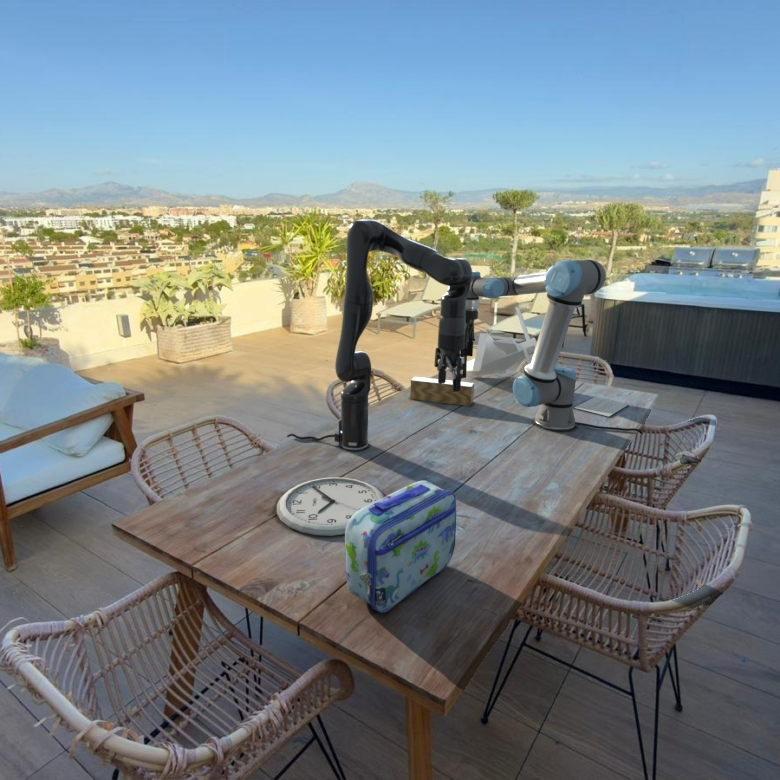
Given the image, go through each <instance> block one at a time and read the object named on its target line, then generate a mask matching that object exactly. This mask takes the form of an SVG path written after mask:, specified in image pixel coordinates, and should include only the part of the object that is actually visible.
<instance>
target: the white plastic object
mask: <svg viewBox="0 0 780 780" xmlns="http://www.w3.org/2000/svg"><path fill="white" fill-rule="evenodd" d="M515 311H516V314H517V317H518V320H519V323H520V326H521V329H522V332H523V336H524V338H525V341H522V342H519V343H518V342H516V340H515V339H514V337H513V336H510V337H505V338H501V339H497V340H494V339H493V338H492V337H491V335H490V334H489V333H487V332H486V333H485V332H483V333H482V332H480V333H479V336H478V341H477V346H476V351H475V355H474V358H473V359H471V360H467V368H466V373H467V374H468V375H469V377H471V378H472V377H481V376H490V375H496V376H500V375H502V374H505V373H506V372H507V370H508V369H509V368H511V367H512V366H513V365H515V364H517V363H518V362H520V361H521V360H522V359H523V358H524V357H525V360H526V363H527V365H528V364H530V363H531V360H532V357H531V356H530V354H534V351H535V347H536V344H537V341H538V340H537V339H536V338H535V337H532V338H531V337H530V334H529V332H528V328H527V325H526V322H525V320H524V315H523V313H522V311H521V310H520V307H519V306H517V307H515Z"/></svg>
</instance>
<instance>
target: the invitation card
mask: <svg viewBox="0 0 780 780" xmlns="http://www.w3.org/2000/svg"><path fill="white" fill-rule="evenodd" d="M628 406H629V404H627V403H623V402H618V401H614V400H609V399H605V398H601V397H596V396H593V397H592V398H590V399H588V400H586V401H584V402H582V403H580V404H578V405H575V406H574V407H573V409H575V410H581V411H584V412H587V413H593V414H596V415H600V416H604V417H608V418H609V417H611V416H613V415H614V414H616V413H617V412H619V411H621V410H623V409H624V408H626V407H628Z"/></svg>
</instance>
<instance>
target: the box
mask: <svg viewBox="0 0 780 780" xmlns="http://www.w3.org/2000/svg"><path fill="white" fill-rule="evenodd" d="M452 386H453V380H450V379H446V382H445V383H441V384H440V383H438V378H432V377H421V376H413V378H411V379H410V392H409V393H410V395H409V398H410V400H417V401H426V402H433V403H442V404H451V405H459V406H467V407H471V406H472V404H473V402H474V393H475V382H468V381H461V386H460V387H461V388H460V391H458V392H454V391H452Z"/></svg>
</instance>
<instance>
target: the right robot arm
mask: <svg viewBox="0 0 780 780" xmlns="http://www.w3.org/2000/svg"><path fill="white" fill-rule="evenodd" d="M606 279H607V273H606V269H605V267H604V266H603V265H602V264H601V262H599V261H597V260H594V259H577V260H576V259H565V260H559V261H557V262H555V263H554V264H552V265H551V266H550V267H549V268H548V270H547V271H544V272H543V271H542V272H537V273H530V274H522V275H516V276H515V275H514V276H505V277H504V276H503V277H502V276H501V277H481V272H480V271H478V270H477V271H476V270H472V281H471V285H470V289H469V293H468V296H467V299H466V313H465V322H466V328H465V344H464V349H462V350H461V351H460V356H461V357H466V358H467V359H468V357H473V355H474V354H473V353H474V342H476V338H475V337H476V336H475V320H478V318H479V308H480V297H482V298H487V299H499V298H500V297H511V296H512V297H514V296H515V297H516V296H522V295H532V294H542V293H545V294H546V299H547V301H548V304H547V309H546V312H545V315H544V318H543V322H542V324H541V327H540V332H539V335H538V338H537V340H536V341H537V344H536V347H535V351H534V352H533V353H532V354H533V355H532V357H531V363H530V364H527V365H525V366H524V368H523V372H522V375H520V376H518V377H517V378H515V379H514V380H513V384H512V393H513V396H514V398H515V400H516V401H517V402H518V404H520V405H521V406H523V407H526V408H532V407H538V406H539V407H538V410H537V411H536V413H535V417H534V424H535V425H536V426H537V427H539V428H542V429H544V430H549V431H556V432H567V431H572V430H574V429H575V428H576V425H577V426H581V427H587V428H594V429H600V430H610V431H611V430H613V431H624V432H638V433H639V434H641V435H643V434H644V432H643V431H642V430H641V429H639V428H636V427H633V428H631V427H630V428H626V427H614V426H602V425H601V426H600V425H595V424H590V423H584V422H578V421H576V418H575V417H576V416H575V413H574V407H573V405H574V398H575V390H576V383H577V372H576V371H575V369H572V368H571V367H570V368H569V367H566V366H561V365H557V363H558V360H559V357H560V355H561V351H562V348H563V345H564V342H565V339H566V336H567V333H568V331H569V327H570V325H571V322H572V318H573V315H574V312H575V309H576V308H577V309H578V307H581V305H582V303H583V300H584V297H585V296H587V295H592V294H595V293H597V292H598V291H599V290H601V289H602V288H603V286H604V285H605V283H606Z"/></svg>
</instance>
